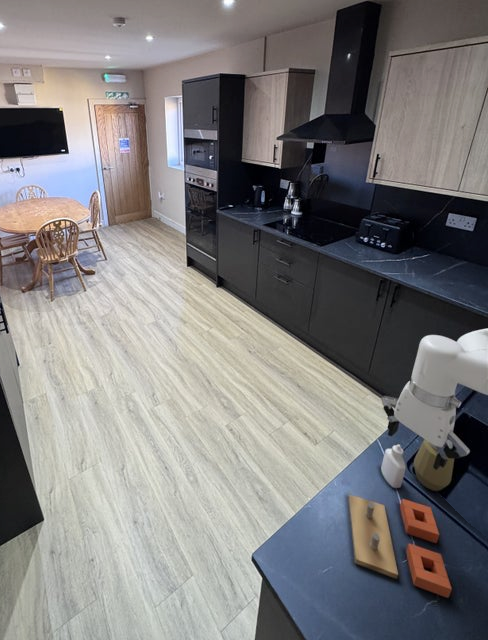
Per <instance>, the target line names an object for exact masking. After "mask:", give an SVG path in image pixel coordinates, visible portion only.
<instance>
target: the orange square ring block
mask: <svg viewBox="0 0 488 640" xmlns="http://www.w3.org/2000/svg"><path fill="white" fill-rule="evenodd" d="M405 553H406V558H407V563H408V567H409V571H410V574H411V575H410V576H411V579H412V585H413V586H415V587H417V588H419V589H422V590H426V591H428V592H430V593H433V594H436V595H439V596H441V597H444V598H447V599H449V597H450V595H451V592H452V586H451V583H450V580H449V579H450V578H449V577H448V573H447V570H446V567H445V563H444V560H443V557H442V554H441V553H438V552H436V551H432V550H429V549H426V548H423V547H421V546H418V545H415V544H412V543H408V544H407V547H406V551H405ZM425 568H426V569H429V570H430V571H429V570H426V569H425Z"/></svg>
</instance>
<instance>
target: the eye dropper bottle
mask: <svg viewBox="0 0 488 640" xmlns="http://www.w3.org/2000/svg"><path fill="white" fill-rule="evenodd" d="M403 455H404V450H403V448H402V446H401V445H400V444H399V443H397V444H396V445H393V446H392V448H385V450H384V454H383V458H382V461H381V466H380V471H381V474H382V476H383V479H384V480H385V481H386V483H387V484H388V485H389V486H391V487H392V488H393V489H400V488H401V487H402V484H403V482H404V481H403V480H404V477H405V473H406V469H407V467H406V463H405V460H404V458H403Z"/></svg>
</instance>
